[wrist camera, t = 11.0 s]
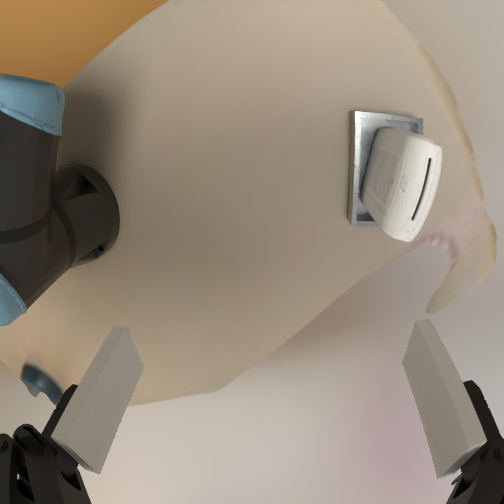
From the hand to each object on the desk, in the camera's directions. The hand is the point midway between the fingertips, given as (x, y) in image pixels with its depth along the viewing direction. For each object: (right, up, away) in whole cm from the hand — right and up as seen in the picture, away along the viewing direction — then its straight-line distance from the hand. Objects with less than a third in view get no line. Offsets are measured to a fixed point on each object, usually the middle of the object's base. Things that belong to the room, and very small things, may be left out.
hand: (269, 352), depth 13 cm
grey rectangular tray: (+15, +15, +21) cm, 29 cm away
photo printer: (+15, +15, +20) cm, 29 cm away
